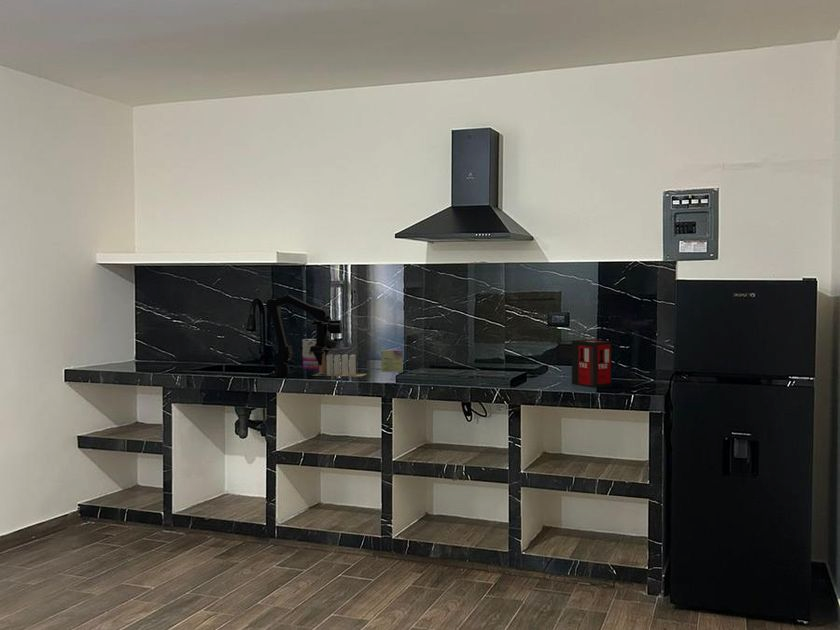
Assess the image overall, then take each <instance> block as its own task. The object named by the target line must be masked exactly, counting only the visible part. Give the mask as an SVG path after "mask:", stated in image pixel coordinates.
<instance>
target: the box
mask: <svg viewBox="0 0 840 630" xmlns="http://www.w3.org/2000/svg"><path fill="white" fill-rule="evenodd" d="M380 355H381V358H380V360H381V363H380V364H381V365H380V366H381V372H384V373H385V372H397V374H402V373H401V372H403V349H381V354H380Z"/></svg>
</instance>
